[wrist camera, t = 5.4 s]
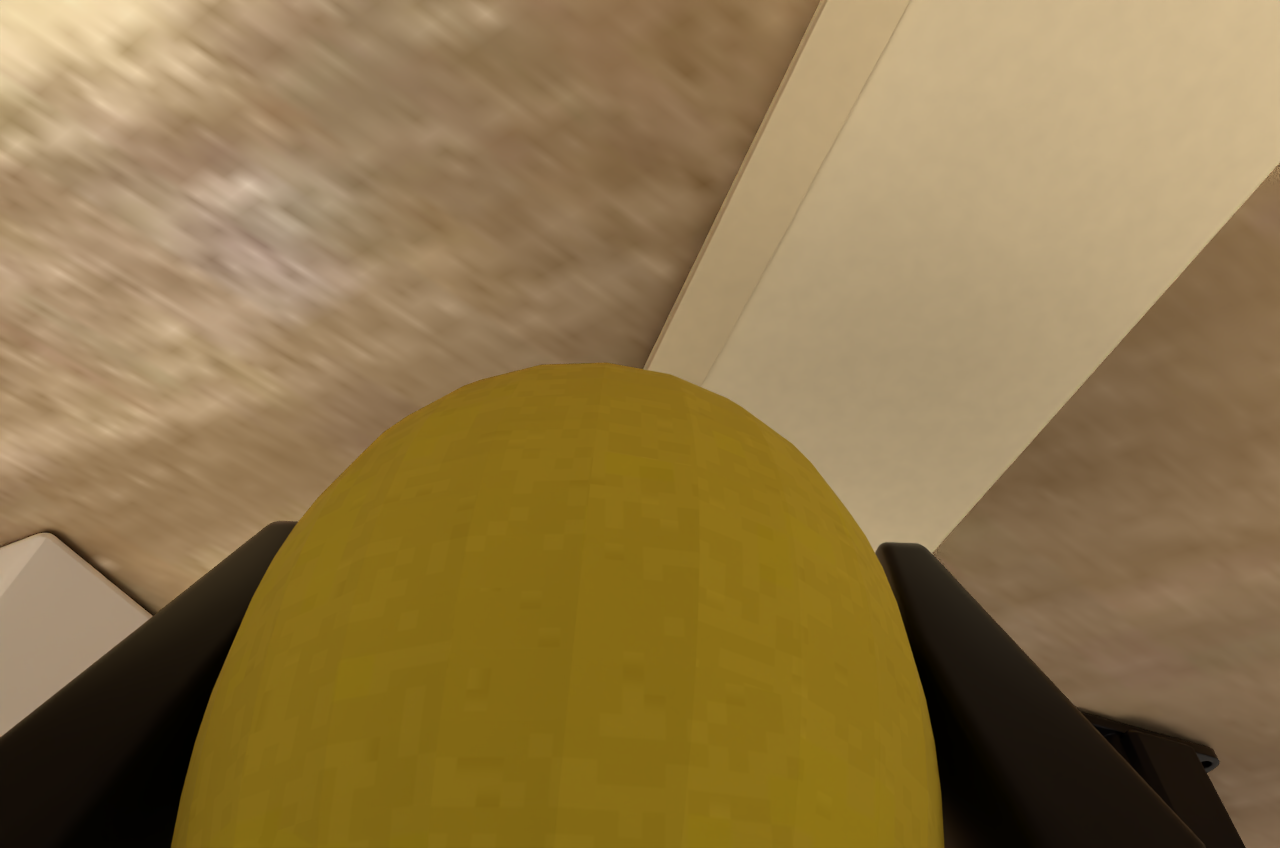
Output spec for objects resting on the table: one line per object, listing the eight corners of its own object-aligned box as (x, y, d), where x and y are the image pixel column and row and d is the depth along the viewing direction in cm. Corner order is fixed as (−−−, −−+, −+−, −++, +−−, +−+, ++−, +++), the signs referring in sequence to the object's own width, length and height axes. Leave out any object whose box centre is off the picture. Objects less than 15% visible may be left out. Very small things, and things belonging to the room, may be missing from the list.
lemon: (269, 366, 10) (-472, 1492, 3) (694, 108, 8) (799, 1582, 2) (552, 635, 13) (432, 1524, 6) (915, 494, 11) (1270, 1568, 4)
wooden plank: (890, 590, 26) (894, 603, 26) (580, 498, 24) (578, 511, 24) (1658, -281, 13) (1688, -282, 13) (1131, -647, 11) (1148, -661, 11)
